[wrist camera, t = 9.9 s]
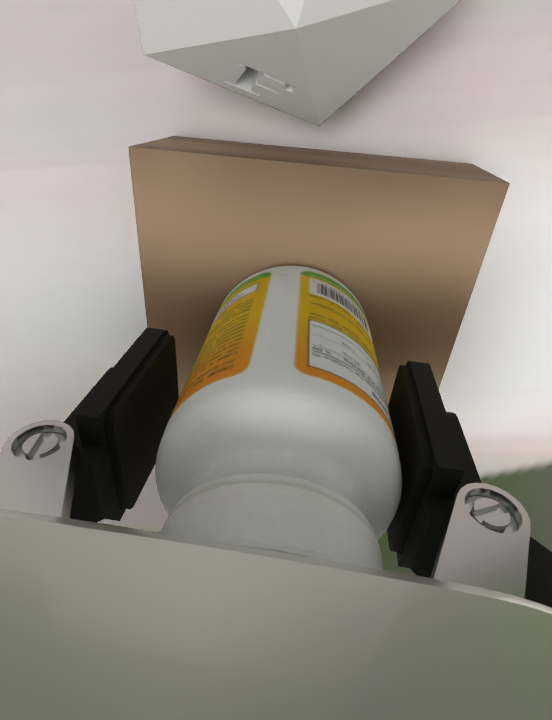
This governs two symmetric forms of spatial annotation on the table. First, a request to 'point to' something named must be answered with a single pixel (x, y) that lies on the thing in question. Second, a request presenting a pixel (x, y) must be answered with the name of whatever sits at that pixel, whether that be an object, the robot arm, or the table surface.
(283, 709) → the robot arm
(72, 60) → the table surface
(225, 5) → the die
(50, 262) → the table surface
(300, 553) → the supplement bottle
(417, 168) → the base block
